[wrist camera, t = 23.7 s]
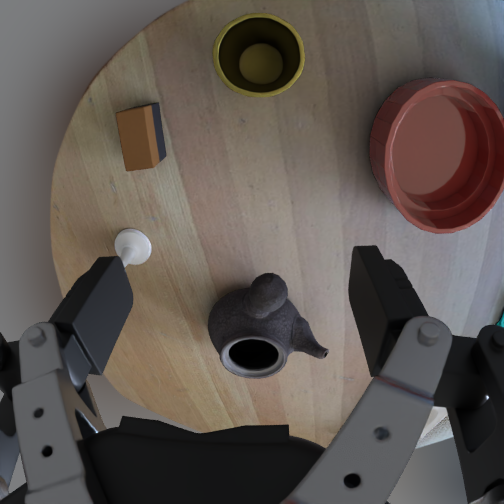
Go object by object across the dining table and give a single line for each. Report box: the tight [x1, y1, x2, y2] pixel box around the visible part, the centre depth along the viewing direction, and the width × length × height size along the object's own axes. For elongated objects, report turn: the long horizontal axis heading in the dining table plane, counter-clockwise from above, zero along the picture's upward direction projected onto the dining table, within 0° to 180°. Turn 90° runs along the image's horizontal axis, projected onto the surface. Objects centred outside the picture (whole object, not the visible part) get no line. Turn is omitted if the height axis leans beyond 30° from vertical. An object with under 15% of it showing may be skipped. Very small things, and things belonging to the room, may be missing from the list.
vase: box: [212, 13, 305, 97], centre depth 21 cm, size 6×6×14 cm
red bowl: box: [369, 77, 504, 234], centre depth 28 cm, size 16×16×6 cm
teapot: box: [208, 273, 329, 379], centre depth 38 cm, size 19×15×10 cm
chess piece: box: [115, 229, 151, 271], centre depth 34 cm, size 5×5×10 cm
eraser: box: [116, 103, 166, 171], centre depth 29 cm, size 6×3×4 cm, turn 4°
